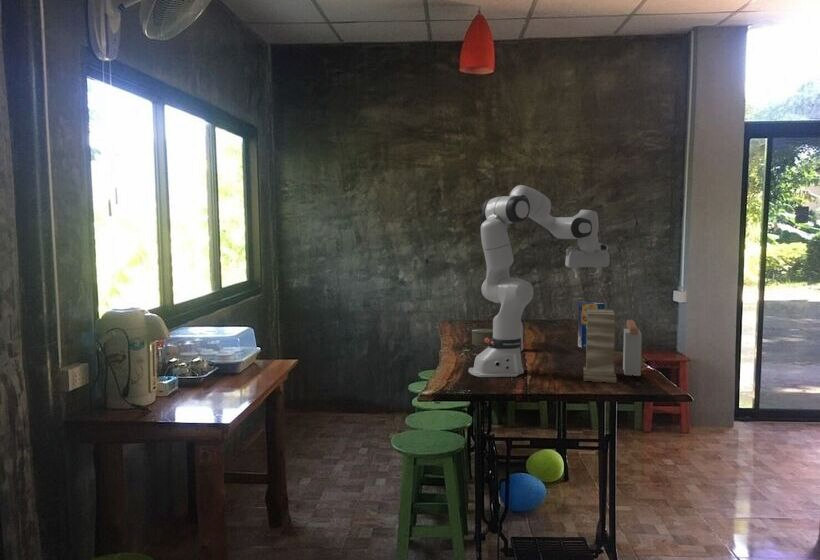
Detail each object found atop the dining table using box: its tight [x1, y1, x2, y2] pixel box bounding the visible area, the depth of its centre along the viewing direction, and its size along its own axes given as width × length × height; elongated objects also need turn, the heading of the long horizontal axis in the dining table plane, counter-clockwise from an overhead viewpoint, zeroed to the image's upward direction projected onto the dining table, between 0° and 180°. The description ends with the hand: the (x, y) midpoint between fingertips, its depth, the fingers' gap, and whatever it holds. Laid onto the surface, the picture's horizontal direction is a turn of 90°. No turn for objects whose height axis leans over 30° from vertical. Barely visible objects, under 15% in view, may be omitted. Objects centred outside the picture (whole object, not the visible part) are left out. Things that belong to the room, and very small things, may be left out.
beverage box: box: [577, 301, 605, 349], centre depth 315 cm, size 7×11×22 cm, turn 90°
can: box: [471, 328, 493, 347], centre depth 326 cm, size 12×12×7 cm
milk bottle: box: [520, 321, 524, 352], centre depth 307 cm, size 8×8×20 cm
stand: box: [582, 308, 617, 384], centre depth 251 cm, size 18×12×26 cm, turn 165°
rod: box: [626, 319, 639, 335], centre depth 261 cm, size 25×2×2 cm, turn 165°
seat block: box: [622, 328, 643, 377], centre depth 259 cm, size 12×6×17 cm, turn 165°
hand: (587, 277), depth 283 cm, fingers open, 8 cm apart
